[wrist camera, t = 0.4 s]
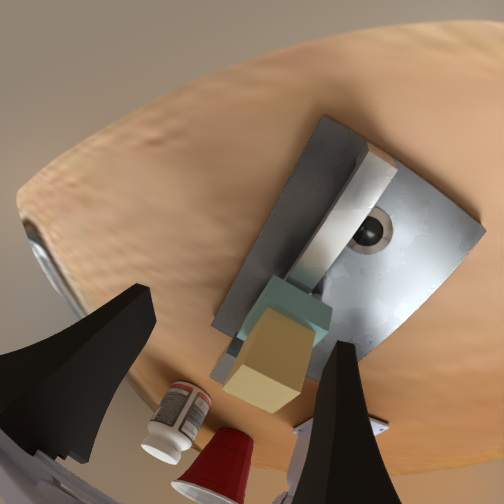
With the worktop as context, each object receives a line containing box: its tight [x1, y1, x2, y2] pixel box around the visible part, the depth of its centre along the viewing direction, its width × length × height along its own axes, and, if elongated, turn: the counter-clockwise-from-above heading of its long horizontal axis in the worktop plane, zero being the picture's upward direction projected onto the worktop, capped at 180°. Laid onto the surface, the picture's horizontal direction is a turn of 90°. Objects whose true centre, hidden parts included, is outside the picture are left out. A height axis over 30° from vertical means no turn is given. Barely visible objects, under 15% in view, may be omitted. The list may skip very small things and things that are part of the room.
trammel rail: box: [209, 142, 398, 385], centre depth 18 cm, size 19×4×5 cm, turn 156°
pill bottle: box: [141, 381, 211, 464], centre depth 32 cm, size 6×6×10 cm
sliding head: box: [222, 275, 333, 414], centre depth 17 cm, size 4×4×9 cm
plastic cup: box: [171, 428, 253, 504], centre depth 35 cm, size 11×11×12 cm
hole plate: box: [211, 114, 486, 382], centre depth 21 cm, size 19×12×1 cm, turn 156°
